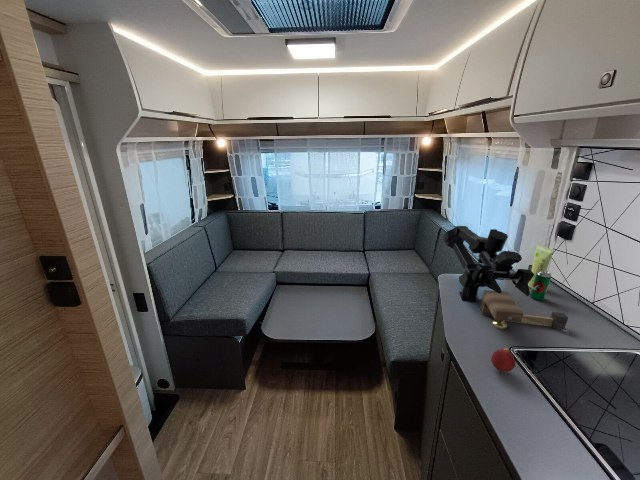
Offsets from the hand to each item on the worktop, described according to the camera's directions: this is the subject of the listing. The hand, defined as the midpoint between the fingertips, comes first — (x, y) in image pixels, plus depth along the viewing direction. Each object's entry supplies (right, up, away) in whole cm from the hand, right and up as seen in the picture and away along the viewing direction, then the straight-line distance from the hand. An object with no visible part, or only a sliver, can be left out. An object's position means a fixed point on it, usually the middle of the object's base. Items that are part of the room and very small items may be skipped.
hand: (514, 293), depth 92 cm
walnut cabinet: (+3, -13, +14) cm, 20 cm away
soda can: (+29, -7, +30) cm, 43 cm away
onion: (-9, -21, -7) cm, 24 cm away
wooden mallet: (+17, -13, +14) cm, 25 cm away
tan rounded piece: (+3, -14, +13) cm, 19 cm away
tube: (+34, -4, +39) cm, 52 cm away
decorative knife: (+24, -16, +8) cm, 30 cm away
